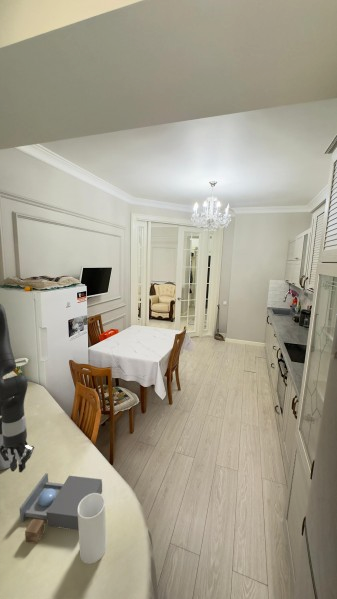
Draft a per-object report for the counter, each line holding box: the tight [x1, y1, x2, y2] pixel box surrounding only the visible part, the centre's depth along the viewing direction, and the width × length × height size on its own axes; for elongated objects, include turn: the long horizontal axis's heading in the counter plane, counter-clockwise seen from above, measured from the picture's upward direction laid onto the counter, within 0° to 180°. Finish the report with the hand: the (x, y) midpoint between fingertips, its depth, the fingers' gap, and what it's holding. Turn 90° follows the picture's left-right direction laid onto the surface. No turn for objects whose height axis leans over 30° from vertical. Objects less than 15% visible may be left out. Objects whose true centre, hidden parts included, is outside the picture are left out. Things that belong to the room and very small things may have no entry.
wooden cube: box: [24, 518, 45, 544], centre depth 81 cm, size 4×4×4 cm
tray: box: [19, 473, 64, 522], centre depth 92 cm, size 14×15×5 cm
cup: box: [78, 493, 107, 565], centre depth 77 cm, size 8×8×16 cm
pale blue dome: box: [38, 489, 56, 508], centre depth 92 cm, size 6×6×2 cm
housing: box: [46, 475, 103, 531], centre depth 91 cm, size 14×15×6 cm
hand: (18, 470), depth 92 cm, fingers open, 2 cm apart
